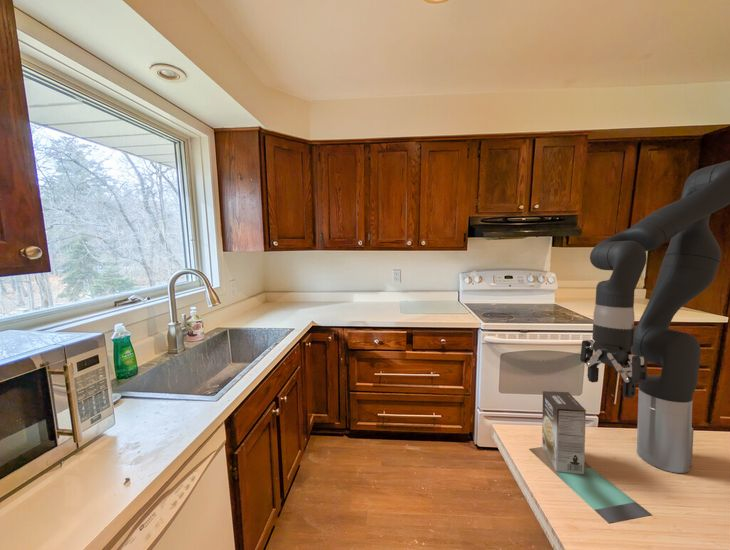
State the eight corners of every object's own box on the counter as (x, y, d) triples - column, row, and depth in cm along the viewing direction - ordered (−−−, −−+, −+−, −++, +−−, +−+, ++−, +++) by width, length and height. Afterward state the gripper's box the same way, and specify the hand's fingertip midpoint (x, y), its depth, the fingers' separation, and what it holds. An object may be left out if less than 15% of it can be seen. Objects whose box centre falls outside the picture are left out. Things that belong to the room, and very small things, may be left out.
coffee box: (540, 447, 78) (541, 389, 77) (567, 449, 77) (568, 391, 76) (556, 472, 69) (556, 407, 68) (586, 475, 68) (587, 409, 67)
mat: (561, 445, 79) (561, 444, 79) (652, 516, 58) (652, 514, 58) (528, 449, 78) (528, 448, 78) (608, 524, 56) (608, 523, 56)
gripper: (659, 330, 64) (655, 402, 65) (598, 317, 78) (595, 376, 79) (631, 332, 62) (626, 404, 63) (573, 318, 76) (571, 378, 77)
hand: (609, 388), depth 71 cm, fingers open, 8 cm apart
